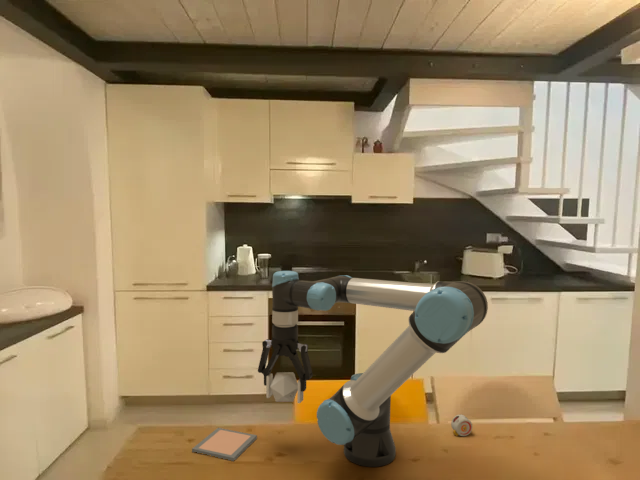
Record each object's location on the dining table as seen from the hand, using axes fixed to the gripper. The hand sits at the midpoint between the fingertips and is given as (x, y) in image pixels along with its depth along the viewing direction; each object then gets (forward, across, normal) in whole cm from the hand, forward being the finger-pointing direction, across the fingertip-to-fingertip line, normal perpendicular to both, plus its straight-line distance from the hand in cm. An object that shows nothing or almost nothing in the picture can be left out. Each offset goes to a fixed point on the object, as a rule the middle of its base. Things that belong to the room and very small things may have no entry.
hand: (284, 398), depth 136 cm
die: (0, 0, 0) cm, 0 cm away
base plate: (+16, +18, +4) cm, 24 cm away
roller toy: (+16, -49, -29) cm, 59 cm away
